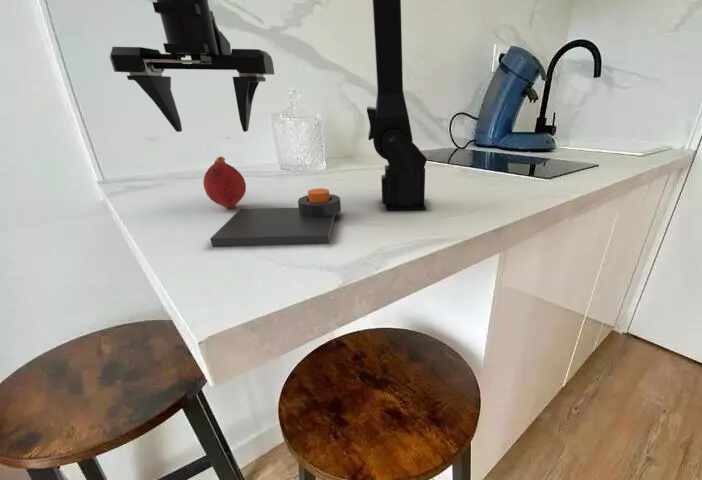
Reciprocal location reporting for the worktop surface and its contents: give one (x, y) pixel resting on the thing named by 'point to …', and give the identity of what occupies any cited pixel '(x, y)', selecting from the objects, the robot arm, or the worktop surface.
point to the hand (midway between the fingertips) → (212, 131)
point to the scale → (280, 225)
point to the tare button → (318, 195)
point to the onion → (224, 184)
